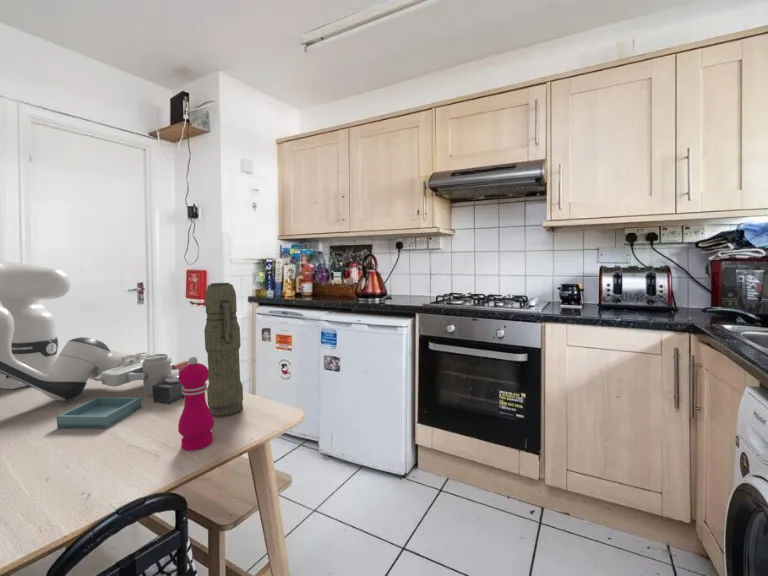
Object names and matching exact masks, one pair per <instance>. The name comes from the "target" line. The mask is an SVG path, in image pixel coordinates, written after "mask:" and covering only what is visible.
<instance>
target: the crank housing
mask: <svg viewBox="0 0 768 576" xmlns="http://www.w3.org/2000/svg"><path fill="white" fill-rule="evenodd" d="M188 364H189V360H184V361H182V362H178V363H175V364H173V366H172V370H171V371H174V370H175V371H176V370H178V372H174V373H171V374H170V375H167V376H165V377H164V381H163V382H161V383H158V384H156V385H153V386H152V388H153V397H152V400H153V401H152V402H153V403H155V404H162V403H163V405H164V404H165V405H172V404H174V403H176V402H178V400H179V401H180V399H181V400H182V398H183V399H185V398H184V395H183V394H182V387H183V385H182V384H181V383H180V382H179V378H178V377H179V372H180V370H181V369H182V368H183V367H184V366H186V365H188ZM171 403H172V404H171Z"/></svg>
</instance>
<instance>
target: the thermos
mask: <svg viewBox="0 0 768 576" xmlns="http://www.w3.org/2000/svg"><path fill="white" fill-rule="evenodd" d="M236 293H237V292H236V290H235V288H234V285H233V284H230V282H213V283H212V282H211V283H210V284H208V285H207V287H206V291H205V293H204V294H205V295H204V300H205V314H206V323H205V327H204V329H203V330H204V331H203V332H204V348H205V349H204V350H205V351H206V354H207V369H208V372H209V377H208V384H207V390H206V392H207V393H206V395H207V406H208V408H209V410H210V411H211V413H212V415H213V418H227V417H232V416H235V415H237V414H239V413H241V412H242V411H243V409H244V407H243V406H244V405H243V401H244V391H243V389H244V387H243V384H242V382H241V371H240V370H241V366H240V365H241V364H240V348H241V327H240V324H239V322H238V316H237V312H238V309H237V294H236Z"/></svg>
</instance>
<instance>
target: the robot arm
mask: <svg viewBox="0 0 768 576" xmlns="http://www.w3.org/2000/svg"><path fill="white" fill-rule="evenodd" d="M67 274H68V273H65V272H64V271H63V270H59V269H55V268H49V267H44V266H38V265H34V264H33V265H32V264H28V263H27V264H26V263H20V262H13V261H4V260H0V304H1V305H0V389H5V390H13V389H19V388H23V387H31V388H32V389H35V390H37V391H39V392H40V393H41V394H43V395H45V396H46V397H48V398H49V399H50V398H51V399H52V400H56V401H61V402H62V401H63V402H67V401H70V400H73V399H75V398H77V397H79V396H80V395H82V394H83V392H84V390H85V388H86V386H87V382H88V381H89V380H93V381H95V382H101V384H102V385H104V386H109V387H119V386H120V387H121V386H123V385H125V384H129V383H131V382H134V381H143V380H144V379H147V373H143V368H142V362H143V361H144V360H145V359H144V358H145V357H146V356H149V355H151V353H150V352H139V353H135V354H134V353H133V354H132V353H126V354H123V353H116V354H115V353H111V350H110V348H109V347H108V345H107V344H105V343H104V342H103V341H100V340H98V339H95V338H89V337H83V336H82V337H75V338H72V339H69V340H68V341H67V342H66V343H65V345H64V346H63V347H62V349H61V351H60V352H59V351H58V348H59V339H58V337H57V336H56V326H55V325H56V324H55V323H56V321H55V316H54V315H53V313H52V312H50V311H49V310H48V309H47V308H46V307H45V306H44V305H43V302H42V301H49V300H55V299H59V298H62V297H64V296H66V295H67V294H68V292H69V291H70V289H71V280H70V278H69V276H68V275H67ZM167 357H168V358H170V360H171V371H173V370H172V366H173V365H174V364H173V363H172V362H173V361H172V357H170V356H169V355H168V356H167Z"/></svg>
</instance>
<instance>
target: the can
mask: <svg viewBox="0 0 768 576" xmlns="http://www.w3.org/2000/svg"><path fill="white" fill-rule="evenodd" d="M167 356H169V354H167V353H156V354H155V353H154V354H150V355H149V356H146V357H145V358H144V359H145V360H144V361H143V362H142V368H143V373H147V379H144V380H142V381H143V382H142V383H143V393H144V394H143V395H145V396H147V397H148V398H153V388H152V386H153V385H156V384H158V383H161V382H163V381H164V377H165V376H167V375H170V374H172V370H171V361H172V359H171V360H170V358H168V357H167Z"/></svg>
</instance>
